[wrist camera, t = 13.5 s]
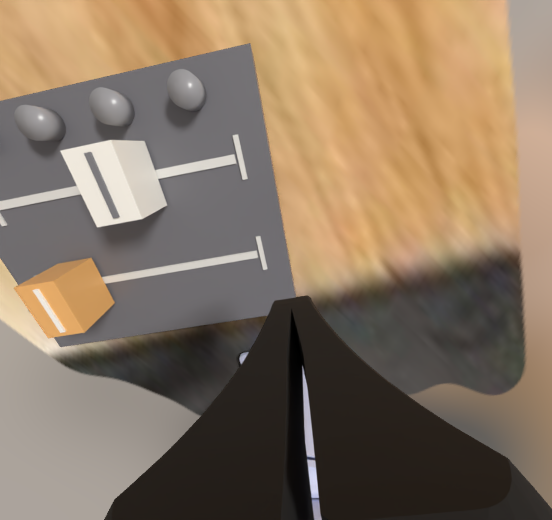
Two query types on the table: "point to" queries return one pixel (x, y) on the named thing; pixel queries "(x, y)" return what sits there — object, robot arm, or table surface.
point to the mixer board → (175, 186)
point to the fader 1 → (115, 180)
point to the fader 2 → (66, 297)
